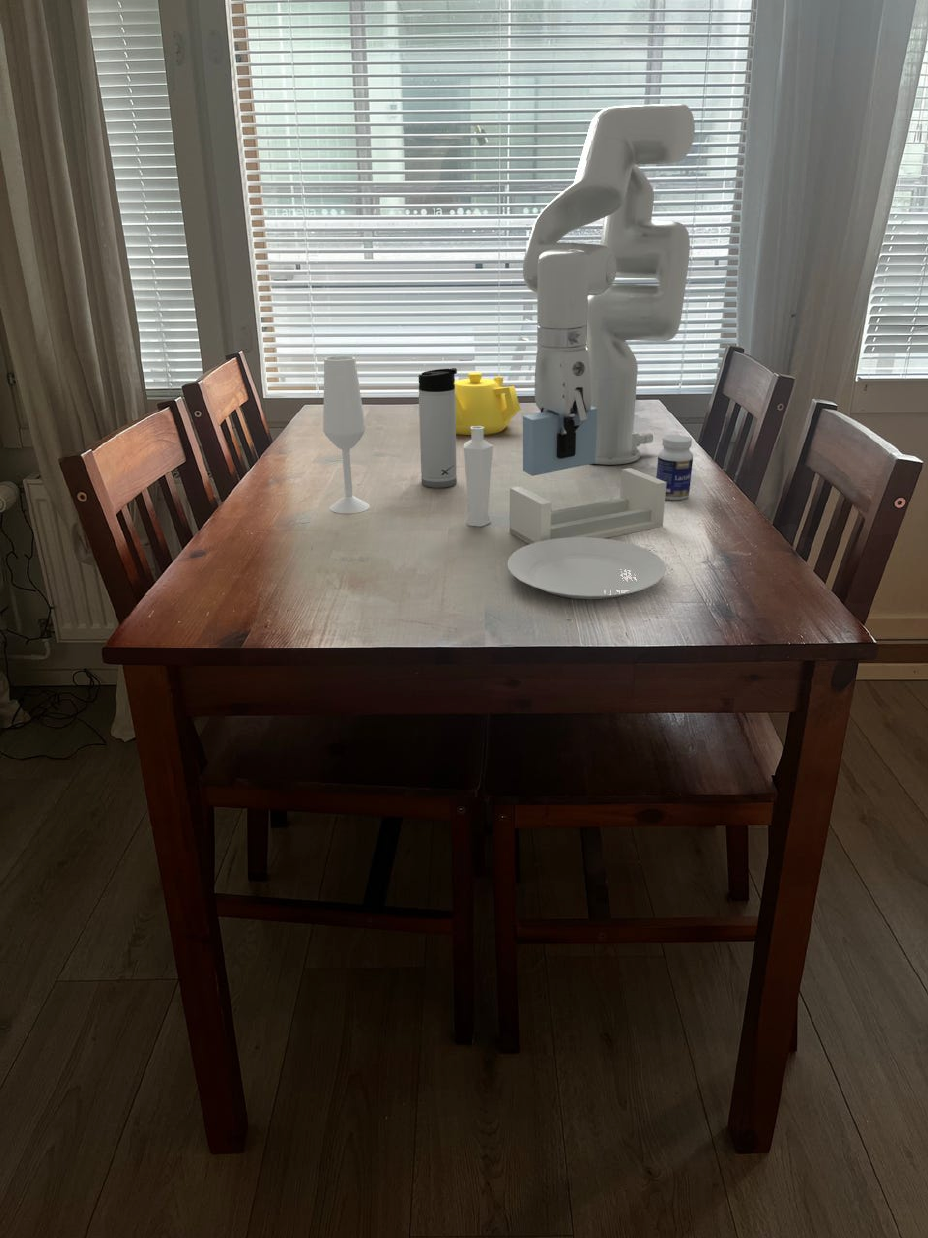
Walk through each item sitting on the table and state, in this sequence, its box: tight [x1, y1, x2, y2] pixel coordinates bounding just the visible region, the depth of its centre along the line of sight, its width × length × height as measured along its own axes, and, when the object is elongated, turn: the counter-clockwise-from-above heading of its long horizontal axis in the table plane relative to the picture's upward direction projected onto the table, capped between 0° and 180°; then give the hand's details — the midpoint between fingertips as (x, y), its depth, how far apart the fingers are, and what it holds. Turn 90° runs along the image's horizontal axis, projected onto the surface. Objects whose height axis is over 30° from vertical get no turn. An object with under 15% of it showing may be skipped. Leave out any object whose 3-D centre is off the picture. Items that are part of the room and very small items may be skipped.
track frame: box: [509, 467, 667, 545], centre depth 138 cm, size 22×9×7 cm, turn 117°
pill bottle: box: [655, 434, 694, 501], centre depth 152 cm, size 6×6×10 cm
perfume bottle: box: [463, 426, 494, 528], centre depth 140 cm, size 5×4×15 cm
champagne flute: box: [322, 355, 371, 514], centre depth 145 cm, size 7×7×24 cm
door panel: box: [522, 406, 597, 477], centre depth 146 cm, size 12×3×9 cm, turn 117°
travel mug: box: [418, 367, 458, 489], centre depth 158 cm, size 6×7×20 cm
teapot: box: [454, 371, 521, 436], centre depth 197 cm, size 17×17×12 cm
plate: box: [507, 537, 667, 600], centre depth 121 cm, size 21×21×2 cm
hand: (559, 452), depth 147 cm, fingers closed on door panel, 3 cm apart
